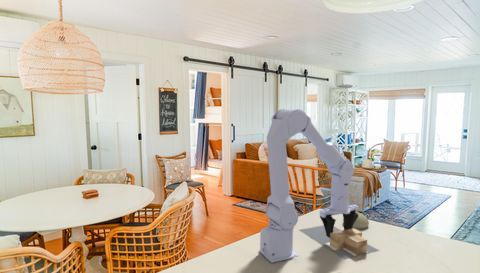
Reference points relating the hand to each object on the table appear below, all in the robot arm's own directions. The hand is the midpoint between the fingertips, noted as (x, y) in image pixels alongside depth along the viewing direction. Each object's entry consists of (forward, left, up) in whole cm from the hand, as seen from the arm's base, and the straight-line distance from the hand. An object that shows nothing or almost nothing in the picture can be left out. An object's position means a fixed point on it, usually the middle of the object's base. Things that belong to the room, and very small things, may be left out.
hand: (338, 235), depth 100 cm
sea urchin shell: (+16, +8, -3) cm, 18 cm away
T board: (0, +1, -2) cm, 3 cm away
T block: (0, -6, -2) cm, 6 cm away
